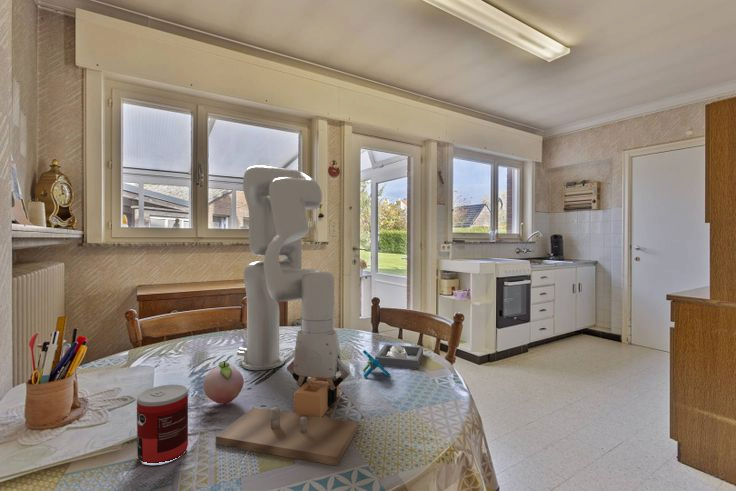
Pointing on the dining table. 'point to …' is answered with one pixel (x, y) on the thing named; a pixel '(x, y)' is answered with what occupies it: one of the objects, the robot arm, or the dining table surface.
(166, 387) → the canned food
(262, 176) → the robot arm
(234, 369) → the decorative fruit
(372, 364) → the gear
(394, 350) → the whipped cream
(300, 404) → the block with square holes
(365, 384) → the dining table surface
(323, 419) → the locating board
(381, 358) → the frame
